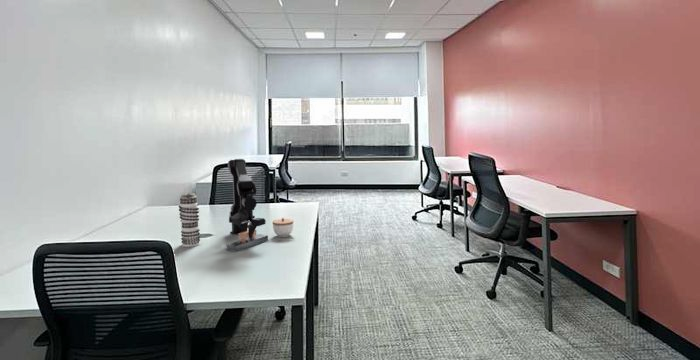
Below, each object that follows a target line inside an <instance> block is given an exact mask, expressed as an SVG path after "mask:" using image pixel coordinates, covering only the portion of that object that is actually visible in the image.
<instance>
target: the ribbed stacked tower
mask: <svg viewBox="0 0 700 360" xmlns="http://www.w3.org/2000/svg"><path fill="white" fill-rule="evenodd" d="M197 197H198V196H197V195H196V194H195V193H193V192H185V193H182V194H181V195H180V197H179V205H178V211H179V219H180V223H181V231H180V233H181V234H180V236H181V239H180V240H181V243H182V244H181V246H182V247H188V248H189V247H195V246H199V245H200V244H201V236H200V227H199V221H200V218H199V217H200V215H198V214H199V213H200V211H199V210H200V208H199V207H198V206H199V203H198V198H197Z"/></svg>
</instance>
